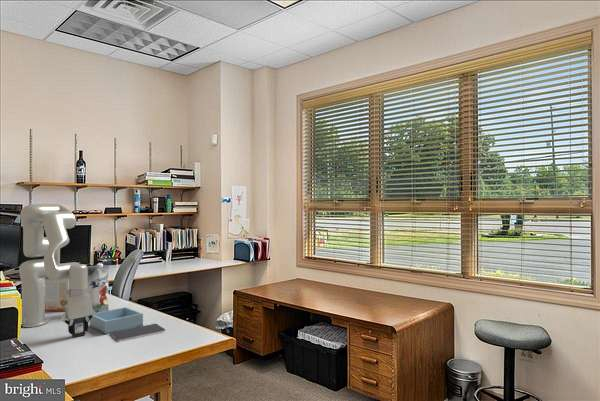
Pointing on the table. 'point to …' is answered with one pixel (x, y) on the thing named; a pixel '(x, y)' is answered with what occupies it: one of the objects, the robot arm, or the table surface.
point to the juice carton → (98, 287)
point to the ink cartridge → (79, 327)
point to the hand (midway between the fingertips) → (78, 331)
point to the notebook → (137, 332)
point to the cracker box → (55, 294)
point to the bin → (116, 320)
